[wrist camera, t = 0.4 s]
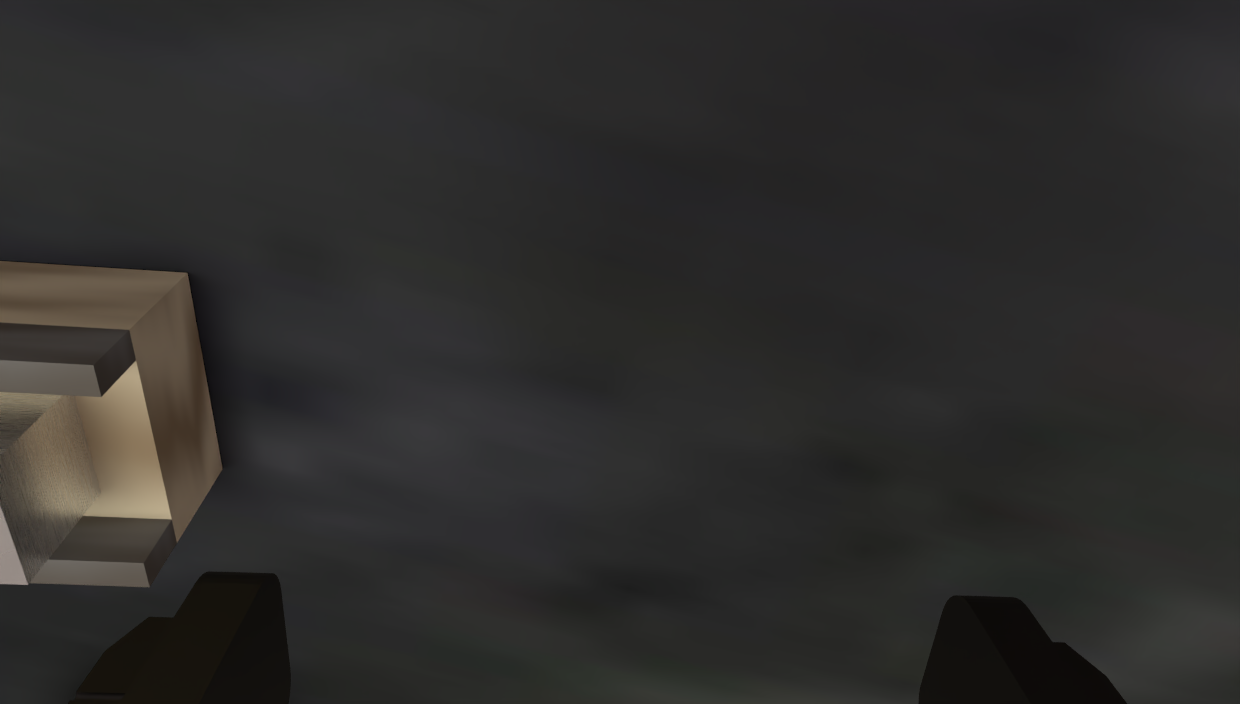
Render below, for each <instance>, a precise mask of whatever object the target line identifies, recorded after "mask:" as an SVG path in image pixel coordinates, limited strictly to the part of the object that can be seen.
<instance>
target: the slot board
mask: <svg viewBox="0 0 1240 704" xmlns="http://www.w3.org/2000/svg"><path fill="white" fill-rule="evenodd" d="M0 392H12V393H31V394H50V395H69V396H75V398H76V402H77V405H78V409H79V413H80V416H81V420H82V424H83V428H84V431H85V435H86V439H87V442H88V446H89V450H90V453H91V457H92V461H93V464H94V468H95V472H96V475H97V479H98V483H99V486H100V490H101V493H100V495H99V496H98V497H97V498H96V500H95V501H94V502H93V504H92V505H91V506H90V507H89V509H88V510H87V511H86V512H85V514H84V515H83V516H82V517H81V519H80V520H79V521H78V522H77V524H76V525H75V526H74V527H73V529H72V530H71V531H70V533H69V534H68V535H67V536H66V538H65V539H64V540H63V541H62V543H61V544H60V545H59V546H58V548H57V549H56V550H55V551H54V553H53V554H52V555H51V556H50V558H49V559H48V560H47V562H46V563H45V564H44V565H43V567H42V568H41V569H40V570H39V572H38V573H37V574H36V575H35V577H34V578H33V579H32V580H31V582H30V583H45V584H73V585H102V586H130V587H150V586H151V584H152V583H153V581H154V579H155V578H156V576H157V574H158V573H159V571H160V570H161V568H162V566H163V565H164V563H165V561H166V560H167V558H168V557H169V555H170V553H171V552H172V550H173V548H174V547H175V545H176V544H177V542H178V540H179V539H180V537H181V536H182V534H183V532H184V531H185V529H186V527H187V526H188V524H189V523H190V521H191V519H192V518H193V516H194V514H195V513H196V511H197V510H198V508H199V506H200V505H201V503H202V502H203V500H204V498H205V497H206V495H207V493H208V492H209V490H210V489H211V487H212V485H213V484H214V482H215V480H216V479H217V477H218V476H219V474H220V472H221V471H222V463H221V457H220V452H219V446H218V441H217V435H216V429H215V424H214V418H213V413H212V407H211V401H210V396H209V390H208V385H207V379H206V374H205V368H204V362H203V357H202V351H201V346H200V340H199V334H198V329H197V323H196V318H195V312H194V306H193V301H192V295H191V290H190V284H189V279H188V273H182V272H167V271H151V270H135V269H119V268H103V267H88V266H72V265H56V264H40V263H25V262H9V261H0Z"/></svg>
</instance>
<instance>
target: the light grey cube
mask: <svg viewBox="0 0 1240 704" xmlns="http://www.w3.org/2000/svg"><path fill="white" fill-rule="evenodd" d="M100 493H101V490H100V486H99V483H98V479H97V475H96V472H95V468H94V464H93V461H92V457H91V453H90V450H89V446H88V442H87V439H86V435H85V431H84V428H83V424H82V420H81V416H80V413H79V409H78V405H77V402H76V398H75V396H69V395H50V394H31V393H12V392H0V584H20V585H28V584H29V583H30V582H31V580H32V579H33V578H34V577H35V575H36V574H37V573H38V572H39V570H40V569H41V568H42V567H43V565H44V564H45V563H46V562H47V560H48V559H49V558H50V556H51V555H52V554H53V553H54V551H55V550H56V549H57V548H58V546H59V545H60V544H61V543H62V541H63V540H64V539H65V538H66V536H67V535H68V534H69V533H70V531H71V530H72V529H73V527H74V526H75V525H76V524H77V522H78V521H79V520H80V519H81V517H82V516H83V515H84V514H85V512H86V511H87V510H88V509H89V507H90V506H91V505H92V504H93V502H94V501H95V500H96V498H97V497H98V496H99V495H100Z"/></svg>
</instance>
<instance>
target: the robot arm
mask: <svg viewBox="0 0 1240 704" xmlns="http://www.w3.org/2000/svg"><path fill="white" fill-rule="evenodd" d="M290 684H291V673H290V663H289V654H288V645H287V637H286V628H285V620H284V611H283V602H282V594H281V587H280V582H279V579H278V577H277V576H276V575H275V574H273V573H242V572H206V573H204V574H203V575H202V576H201V577H200V578H199V579H198V580H197V582H196V583H195V585H194V586H193V588H192V589H191V591H190V593H189V594H188V596H187V597H186V599H185V600H184V602H183V604H182V605H181V607H180V608H179V610H178V611H177V613H176V615H175V616H174V618H170V617H148V618H147V619H146V620H144V621H143V622H142V623H140V624H139V625H138V626H137V627H135V628H134V629H133V630H131V631H130V632H129V633H128V634H126V635H125V636H124V637H122V638H121V639H120V640H119V641H117V642H116V643H115V644H113V645H112V646H111V647H110V648H108V649H107V650H106V651H105V652H104V653H103V655H102V656H101V658H100V659H99V660H98V662H97V663H96V665H95V666H94V668H93V669H92V670H91V672H90V673H89V675H88V676H87V677H86V679H85V680H84V682H83V683H82V685H81V686H80V687H79V689H78V690H77V692H76V698H75V700H70V702H69V703H68V704H288V703H289V696H290ZM919 704H1127V703H1126V702H1125V700H1124V699H1123V698H1122V696H1121V695H1120V694H1119V692H1118V691H1117V690H1116V688H1115V687H1114V686H1113V684H1112V683H1111V682H1110V680H1109V679H1108V678H1107V676H1105V675H1104V674H1103V673H1102V672H1101V671H1099V670H1098V669H1097V668H1096V667H1094V666H1093V665H1092V664H1091V663H1089V662H1088V661H1087V660H1086V659H1084V658H1083V657H1082V656H1081V655H1079V654H1078V653H1077V652H1076V651H1074V650H1073V649H1072V648H1071V647H1070V646H1068V645H1067V644H1066V643H1061V642H1052V641H1051V640H1050V638H1049V637H1048V635H1047V634H1046V633H1045V631H1044V630H1043V628H1042V627H1041V625H1040V624H1039V623H1038V621H1037V620H1036V618H1035V617H1034V616H1033V614H1032V613H1031V611H1030V610H1029V609H1028V607H1027V606H1026V605H1025V604H1024V603H1023V602H1022V601H1021V600H1019V599H1017V598H1014V597H990V596H952V597H951V598H949V600H948V601H947V602H946V604H945V606H944V609H943V612H942V615H941V618H940V622H939V625H938V629H937V632H936V635H935V639H934V642H933V646H932V649H931V652H930V656H929V659H928V662H927V666H926V669H925V673H924V676H923V679H922V683H921V687H920V692H919Z"/></svg>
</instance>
